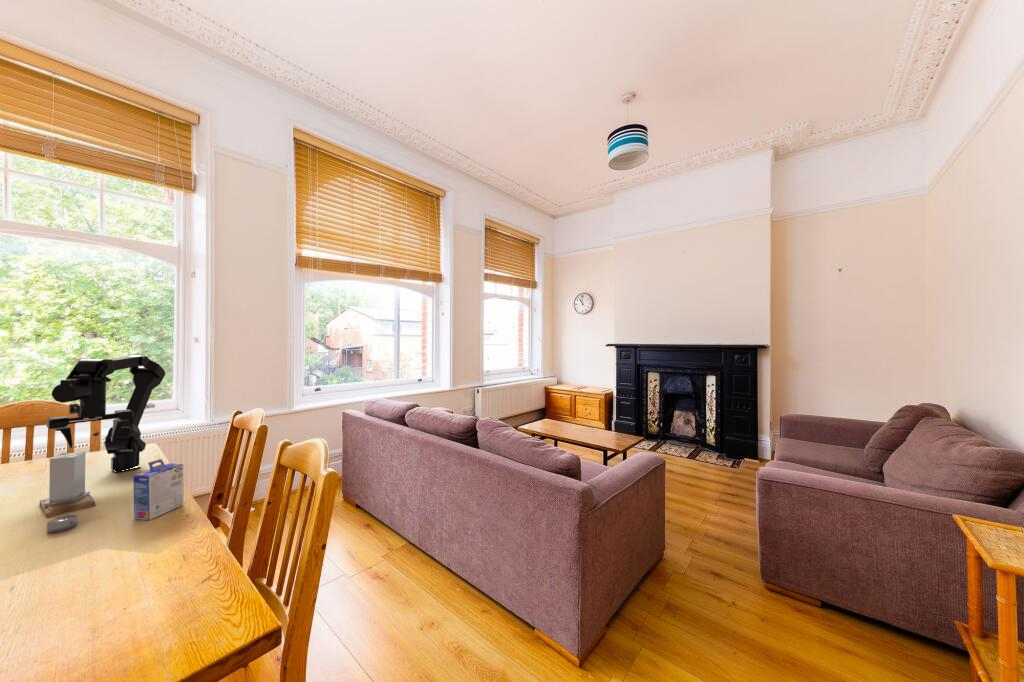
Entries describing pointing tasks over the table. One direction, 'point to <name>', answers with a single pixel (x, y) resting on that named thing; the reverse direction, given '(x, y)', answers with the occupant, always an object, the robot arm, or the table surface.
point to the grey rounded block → (61, 524)
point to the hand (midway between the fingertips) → (92, 444)
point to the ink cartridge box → (158, 490)
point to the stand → (67, 506)
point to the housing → (67, 479)
